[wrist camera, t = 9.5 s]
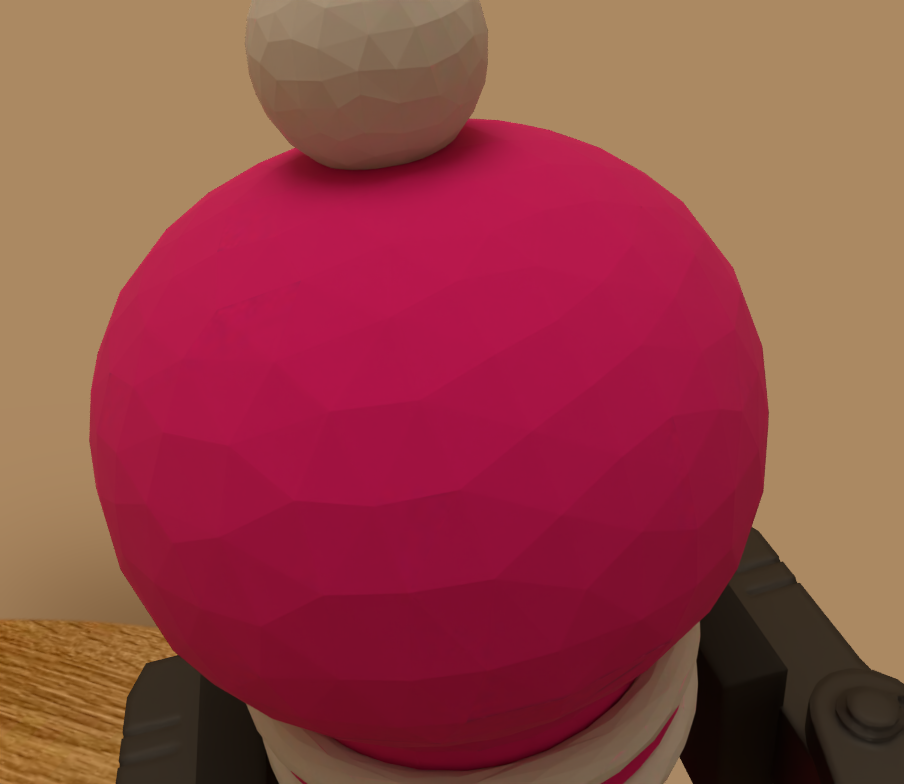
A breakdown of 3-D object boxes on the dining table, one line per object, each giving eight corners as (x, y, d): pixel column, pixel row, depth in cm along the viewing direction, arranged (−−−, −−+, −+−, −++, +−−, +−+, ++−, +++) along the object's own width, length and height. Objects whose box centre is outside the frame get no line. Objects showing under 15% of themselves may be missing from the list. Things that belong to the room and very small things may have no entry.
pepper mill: (509, 1498, 12) (-452, 180, 2) (303, 1030, 18) (-237, -3, 7) (828, 1132, 15) (1237, -208, 5) (569, 824, 21) (475, -127, 10)
